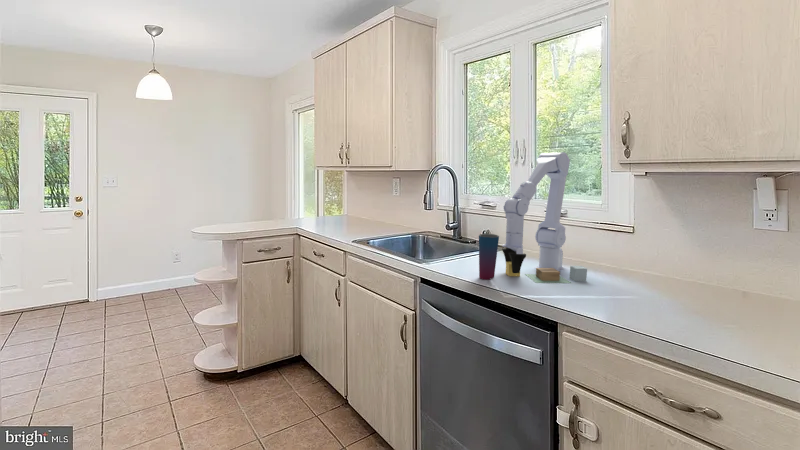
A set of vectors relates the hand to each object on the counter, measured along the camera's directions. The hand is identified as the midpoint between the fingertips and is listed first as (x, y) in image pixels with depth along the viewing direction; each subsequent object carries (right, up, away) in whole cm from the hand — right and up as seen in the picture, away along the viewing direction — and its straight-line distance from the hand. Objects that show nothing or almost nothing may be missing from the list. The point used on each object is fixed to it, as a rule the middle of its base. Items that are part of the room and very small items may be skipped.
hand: (512, 270), depth 150 cm
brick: (+21, -3, -6) cm, 22 cm away
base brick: (+11, -2, -4) cm, 12 cm away
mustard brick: (0, -2, 0) cm, 2 cm away
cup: (-10, -3, -3) cm, 10 cm away
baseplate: (+11, -3, -4) cm, 12 cm away
